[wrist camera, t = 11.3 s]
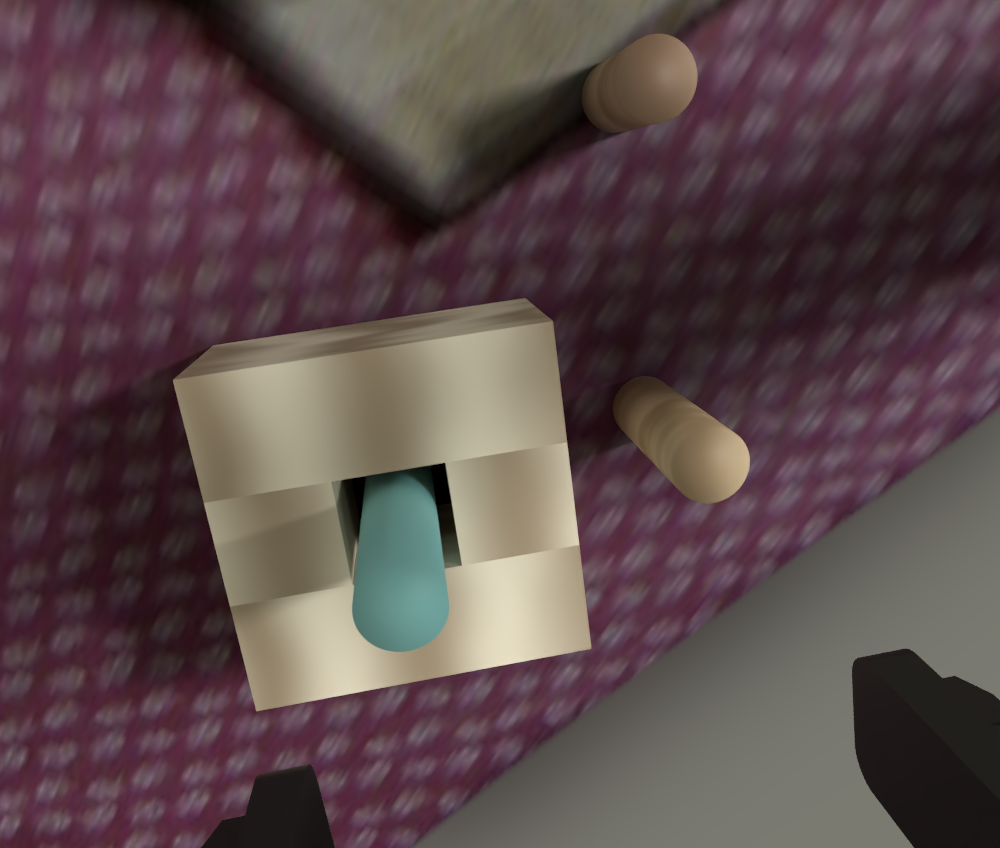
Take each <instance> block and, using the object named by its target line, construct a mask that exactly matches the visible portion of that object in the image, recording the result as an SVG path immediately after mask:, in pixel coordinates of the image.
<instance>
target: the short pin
mask: <svg viewBox="0 0 1000 848" xmlns="http://www.w3.org/2000/svg"><path fill="white" fill-rule="evenodd" d="M696 85H697V68H696V64H695V61H694V58H693V56H692V54H691V52H690V51H689V49H688V48H687V47H686V46H685V45H684V44H683V43H682V42H681V41H680V40H678V39H676V38H675V37H672V36H670V35H666V34H652V35H647V36H645V37H642V38H640V39H639V40H637V41H635V42H634V43H632V44H631V45H629V46H627V47H626V48H624V49H622V50H621V51H619V52H618V53H616V54H614V55H613V56H611V57H610V58H608V59H606V60H605V61H603V62H602V63H600V64H598V65H597V66H596V67H595V68H594V69H592V71H591V72H590V73H589V74H588V76H587V78H586V80H585V82H584V85H583V88H582V106H583V109H584V112H585V114H586V116H587V118H588V119H589V121H590V122H591V123H592V124H593V125H594V126H595V127H597V128H598V129H600V130H602V131H604V132H608V133H621V132H625V131H629V130H633V129H637V128H641V127H645V126H649V125H653V124H657V123H660V122H664V121H668V120H670V119H672V118H674V117H676V116H677V115H679V114H680V113H681V112H682V111H683V110H684V109H685V108H686V107H687V106H688V104H689V103H690V101H691V100H692V98H693V95H694V93H695V89H696Z"/></svg>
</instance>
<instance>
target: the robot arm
mask: <svg viewBox="0 0 1000 848" xmlns="http://www.w3.org/2000/svg"><path fill="white" fill-rule="evenodd" d="M852 683H853V706H854V732H855V749H856V755H857V759H858V763H859V766H860V769H861V772H862V774H863V776H864V779H865V781H866V783H867V785H868V786H869V788H870V790H871V791H872V793H873V794H874V795H875V797H876V798H877V799H878V801H879V802H880V803H881V804H882V806H883V807H884V809H885V810H886V811H887V812H888V814H889V815H890V816H891V818H892V819H893V820H894V822H895V823H896V824H897V826H898V827H899V828H900V830H901V831H902V832H903V833H904V835H905V836H906V838H907V839H908V840H909V841H910V843H911V844H912V845H913V847H914V848H1000V700H999V699H998V698H996V697H995V696H994V695H993V694H991V693H989V692H987V691H985V690H983V689H981V688H979V687H977V686H975V685H973V684H971V683H968V682H967V681H964V680H962V679H960V678H958V677H956V676H952V677H947V678H941V677H940V676H939V675H938V674H937V673H936V672H935V671H934V670H933V669H932V668H931V667H930V666H928V665H927V664H926V663H925V662H924V661H923V660H922V659H921V658H920V657H919V656H918V655H917V654H915V653H914V652H913V651H911V650H910V649H901V650H896V651H891V652H886V653H881V654H876V655H871V656H865V657H860V658H857V659H856V660H855V661H854V663H853V667H852ZM201 848H335V845H334V842H333V838H332V834H331V830H330V826H329V823H328V819H327V815H326V811H325V807H324V803H323V800H322V796H321V792H320V788H319V784H318V781H317V777H316V774H315V771H314V769H313V767H312V766H311V765H310V764H309V765H304V766H299V767H294V768H289V769H284V770H279V771H274V772H269V773H264V774H259V775H258V776H257V777H256V779H255V782H254V785H253V789H252V793H251V796H250V800H249V804H248V807H247V811H246V815H245V816H241V817H236V818H231V819H226V820H222V821H221V823H220V824H219V825H218V827H217V828H216V829H215V831H214V832H213V833H212V834H211V836H210V837H209V838H208V840H207V841H206V842H205V844H204V845H203V846H202V847H201Z"/></svg>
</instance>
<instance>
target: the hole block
mask: <svg viewBox="0 0 1000 848" xmlns="http://www.w3.org/2000/svg"><path fill="white" fill-rule="evenodd" d="M173 383H174V387H175V391H176V395H177V399H178V403H179V407H180V411H181V415H182V419H183V423H184V427H185V431H186V435H187V439H188V443H189V446H190V450H191V454H192V458H193V462H194V466H195V470H196V474H197V478H198V482H199V486H200V490H201V494H202V498H203V502H204V506H205V510H206V514H207V518H208V522H209V526H210V530H211V533H212V537H213V541H214V545H215V549H216V553H217V557H218V561H219V565H220V569H221V573H222V577H223V581H224V585H225V589H226V593H227V597H228V601H229V605H230V609H231V613H232V616H233V620H234V624H235V628H236V632H237V636H238V640H239V644H240V648H241V652H242V656H243V660H244V664H245V668H246V672H247V676H248V680H249V684H250V688H251V692H252V696H253V700H254V703H255V707H256V711H260V710H266V709H271V708H276V707H282V706H287V705H293V704H298V703H303V702H309V701H314V700H319V699H325V698H330V697H335V696H341V695H346V694H351V693H357V692H362V691H367V690H373V689H378V688H383V687H389V686H394V685H400V684H405V683H410V682H416V681H421V680H426V679H432V678H437V677H442V676H448V675H453V674H458V673H464V672H469V671H474V670H480V669H485V668H490V667H496V666H501V665H507V664H512V663H517V662H523V661H528V660H533V659H539V658H544V657H549V656H555V655H560V654H565V653H571V652H576V651H581V650H587V649H591V642H590V633H589V625H588V616H587V608H586V599H585V591H584V582H583V573H582V565H581V556H580V548H579V539H578V531H577V522H576V514H575V505H574V497H573V488H572V479H571V471H570V462H569V454H568V445H567V437H566V428H565V420H564V411H563V402H562V394H561V385H560V377H559V368H558V360H557V351H556V343H555V334H554V326H553V321H552V320H551V319H550V318H549V317H547V316H546V315H545V314H544V313H543V312H541V311H540V310H539V309H538V308H537V307H535V306H534V305H533V304H532V303H531V302H529V301H528V300H527V299H526V298H521V299H515V300H508V301H502V302H495V303H489V304H482V305H476V306H469V307H462V308H456V309H449V310H443V311H436V312H430V313H423V314H416V315H410V316H403V317H397V318H390V319H384V320H377V321H370V322H364V323H357V324H351V325H344V326H338V327H331V328H324V329H318V330H311V331H305V332H298V333H292V334H285V335H278V336H272V337H265V338H259V339H252V340H246V341H239V342H232V343H226V344H219V345H213V346H212V347H211V348H210V349H208V350H207V351H206V352H205V353H204V354H203V355H201V356H200V357H199V358H198V359H197V360H196V361H194V362H193V363H192V364H191V365H190V366H189V367H187V368H186V369H185V370H184V371H183V372H181V373H180V374H179V375H178V376H177V377H176V378H174V379H173ZM441 463H444V464H445V470H446V476H447V482H448V488H449V494H450V501H451V503H448V504H442V505H436V507H437V514H438V522H439V530H440V537H441V545H442V553H443V560H444V568H445V576H446V583H447V591H448V599H449V614H448V618H447V621H446V624H445V626H444V628H443V629H442V631H441V632H440V633H439V634H438V636H437V637H436V638H435V639H433V640H432V641H431V642H429V643H428V644H426V645H425V646H423V647H421V648H418V649H415V650H411V651H405V652H393V651H387V650H383V649H380V648H378V647H376V646H374V645H372V644H371V643H369V642H368V641H367V640H366V639H365V638H363V636H362V635H361V634H360V633H359V631H358V630H357V628H356V626H355V623H354V620H353V615H352V602H353V593H354V583H355V574H356V564H357V554H358V545H359V535H360V525H361V518H359V513H358V508H357V503H356V498H355V493H354V488H353V483H352V478H357V477H363V476H369V475H375V474H381V473H387V472H393V471H399V470H405V469H411V468H417V467H423V466H429V465H435V464H441Z"/></svg>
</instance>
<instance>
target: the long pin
mask: <svg viewBox="0 0 1000 848" xmlns="http://www.w3.org/2000/svg"><path fill="white" fill-rule="evenodd" d="M448 614H449V599H448V591H447V583H446V576H445V568H444V560H443V553H442V545H441V537H440V530H439V522H438V514H437V507H436V499H435V491H434V484H433V476H432V468H431V465H429V466H423V467H417V468H411V469H405V470H399V471H393V472H387V473H381V474H375V475H369V476H366V477H365V487H364V496H363V506H362V516H361V525H360V535H359V545H358V554H357V564H356V574H355V583H354V593H353V602H352V615H353V620H354V623H355V626H356V628H357V630H358V631H359V633H360V634H361V635H362V636H363V638H365V639H366V640H367V641H368V642H369V643H371V644H372V645H374V646H376V647H378V648H380V649H383V650H387V651H393V652H405V651H411V650H415V649H418V648H421V647H423V646H425V645H426V644H428V643H429V642H431V641H432V640H433V639H435V638H436V637H437V636H438V634H439V633H440V632H441V631H442V629H443V628H444V626H445V624H446V621H447V618H448Z"/></svg>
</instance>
